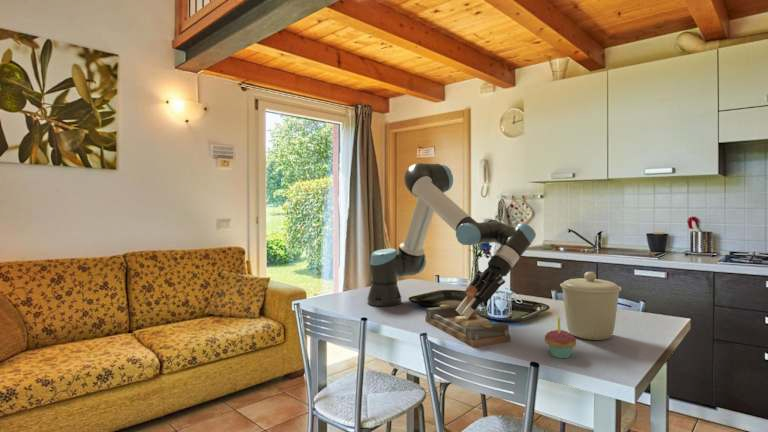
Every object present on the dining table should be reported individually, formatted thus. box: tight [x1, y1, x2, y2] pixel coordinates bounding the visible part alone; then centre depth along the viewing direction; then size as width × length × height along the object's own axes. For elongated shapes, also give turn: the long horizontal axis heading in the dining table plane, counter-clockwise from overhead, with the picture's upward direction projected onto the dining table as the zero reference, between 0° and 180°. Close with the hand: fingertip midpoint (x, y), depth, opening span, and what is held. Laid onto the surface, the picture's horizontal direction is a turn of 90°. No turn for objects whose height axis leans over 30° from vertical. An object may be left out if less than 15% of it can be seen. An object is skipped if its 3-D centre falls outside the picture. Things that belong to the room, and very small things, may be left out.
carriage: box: [455, 285, 490, 328], centre depth 147 cm, size 8×8×14 cm
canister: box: [559, 271, 622, 341], centre depth 143 cm, size 18×18×21 cm
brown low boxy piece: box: [424, 304, 512, 348], centre depth 151 cm, size 32×14×6 cm, turn 22°
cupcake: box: [544, 315, 577, 359], centre depth 126 cm, size 9×8×12 cm
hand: (461, 314), depth 145 cm, fingers closed on carriage, 3 cm apart
